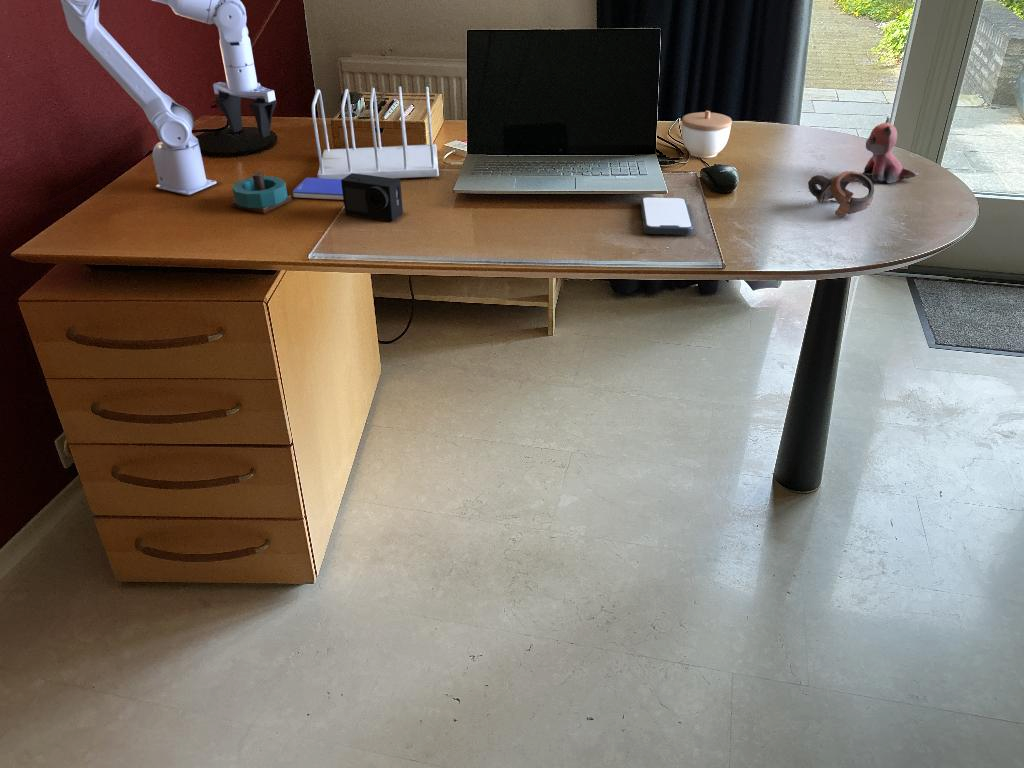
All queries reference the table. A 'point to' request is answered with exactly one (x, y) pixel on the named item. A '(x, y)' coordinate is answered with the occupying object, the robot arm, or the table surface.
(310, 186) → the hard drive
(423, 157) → the file sorter
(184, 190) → the robot arm
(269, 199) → the ring
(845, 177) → the brown curved piece
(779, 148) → the table surface
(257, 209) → the stand
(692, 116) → the trinket box
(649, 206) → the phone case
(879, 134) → the stuffed fox
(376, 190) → the digital camera
